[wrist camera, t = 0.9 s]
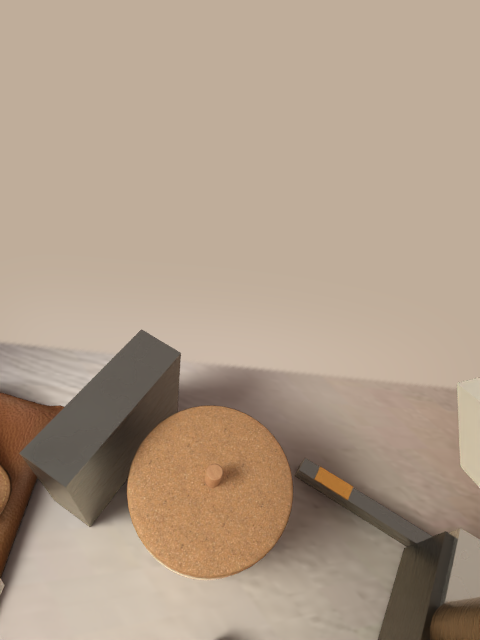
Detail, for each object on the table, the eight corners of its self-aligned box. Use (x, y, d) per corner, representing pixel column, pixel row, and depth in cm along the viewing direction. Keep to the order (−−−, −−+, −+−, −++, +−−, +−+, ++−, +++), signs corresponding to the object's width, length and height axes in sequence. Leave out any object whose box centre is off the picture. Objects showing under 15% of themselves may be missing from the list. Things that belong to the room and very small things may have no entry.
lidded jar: (231, 425, 38) (248, 372, 30) (295, 543, 33) (334, 513, 25) (114, 478, 34) (100, 431, 26) (165, 624, 28) (166, 616, 21)
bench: (31, 527, 31) (-14, 486, 23) (160, 376, 40) (159, 310, 32) (402, 817, 24) (514, 897, 17) (455, 560, 33) (544, 534, 26)
